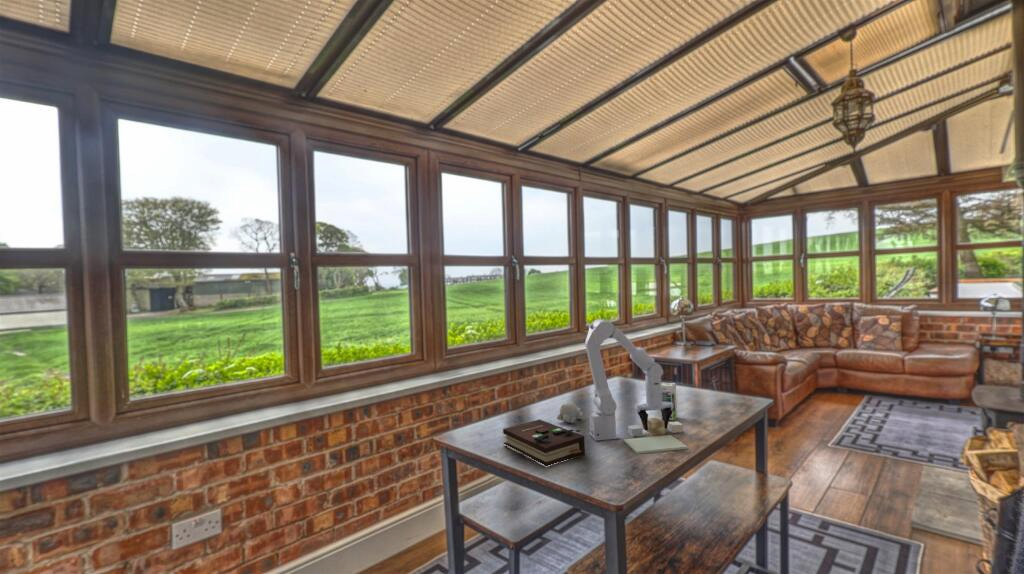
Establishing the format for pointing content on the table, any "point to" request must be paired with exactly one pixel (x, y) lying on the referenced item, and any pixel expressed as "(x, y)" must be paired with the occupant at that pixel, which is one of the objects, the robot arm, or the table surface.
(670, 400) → the syrup box
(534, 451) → the decorative book
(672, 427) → the light grey block
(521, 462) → the table surface
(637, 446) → the sage board
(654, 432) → the maple block
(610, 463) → the table surface
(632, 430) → the grey-blue block
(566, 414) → the toy rhinoceros
